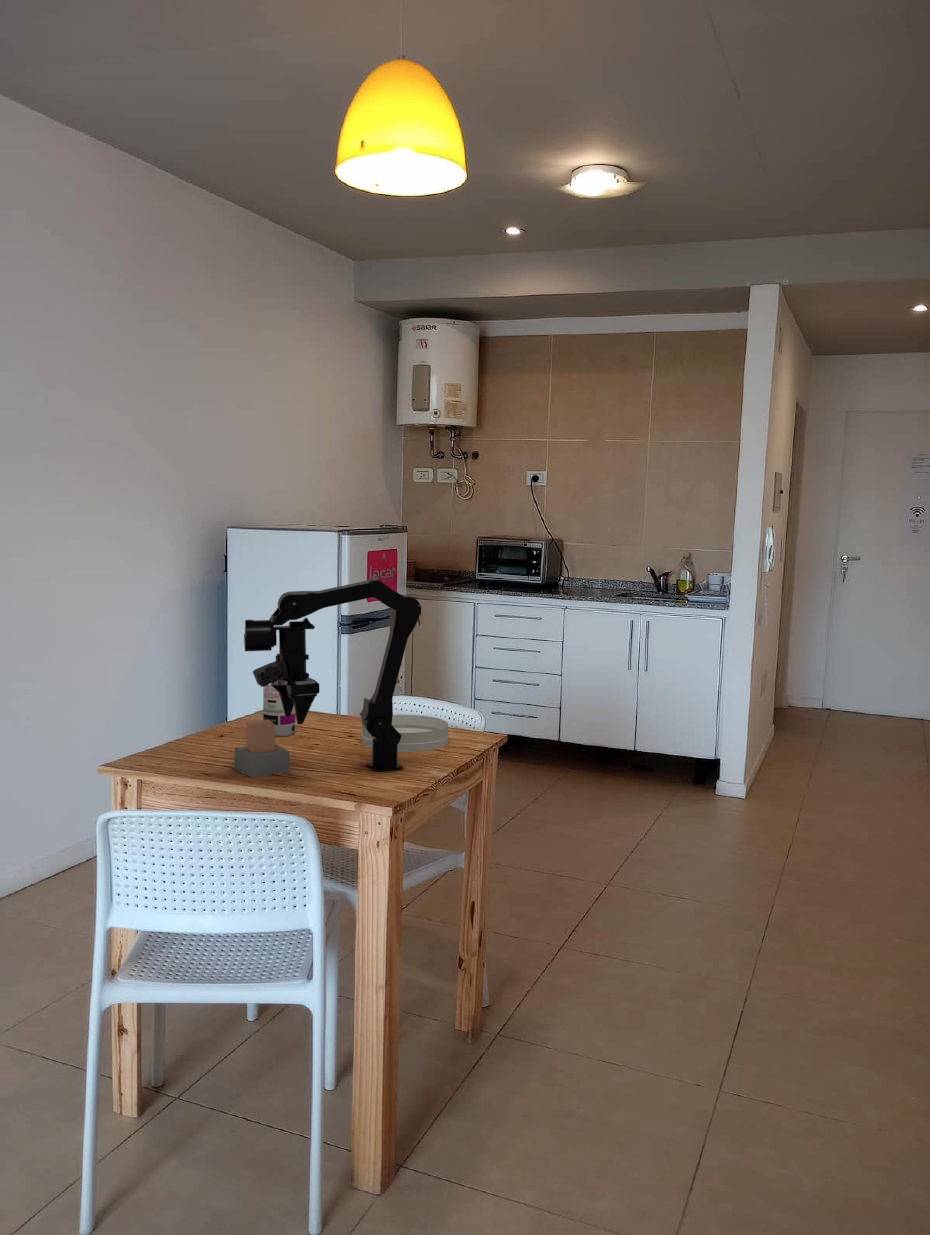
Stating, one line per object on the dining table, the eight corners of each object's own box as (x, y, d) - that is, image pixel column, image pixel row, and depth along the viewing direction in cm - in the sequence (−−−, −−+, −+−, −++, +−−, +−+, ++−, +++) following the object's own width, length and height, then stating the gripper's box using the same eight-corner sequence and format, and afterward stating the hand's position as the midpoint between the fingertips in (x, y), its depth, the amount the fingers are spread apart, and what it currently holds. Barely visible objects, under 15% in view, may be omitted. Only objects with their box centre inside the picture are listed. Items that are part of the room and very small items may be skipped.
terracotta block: (274, 751, 215) (274, 724, 215) (252, 753, 213) (252, 725, 212) (268, 746, 220) (268, 719, 219) (246, 748, 217) (246, 721, 217)
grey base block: (289, 773, 216) (289, 751, 216) (251, 779, 211) (251, 756, 210) (272, 764, 223) (272, 743, 223) (234, 769, 218) (234, 747, 218)
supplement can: (295, 729, 258) (295, 673, 257) (295, 736, 250) (295, 678, 249) (263, 730, 257) (263, 673, 255) (262, 737, 249) (262, 678, 247)
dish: (464, 740, 253) (464, 721, 252) (420, 757, 233) (421, 737, 233) (391, 729, 263) (391, 711, 262) (343, 745, 243) (343, 725, 243)
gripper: (245, 646, 218) (246, 715, 220) (267, 658, 202) (269, 732, 203) (293, 643, 223) (295, 711, 225) (319, 654, 207) (320, 727, 208)
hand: (293, 720), depth 215 cm, fingers open, 9 cm apart
